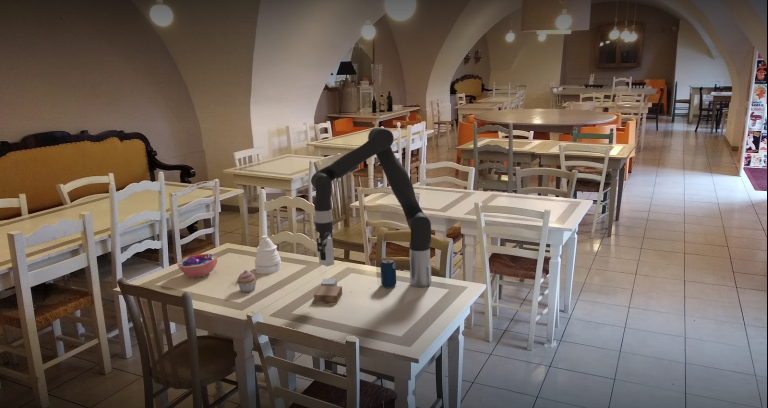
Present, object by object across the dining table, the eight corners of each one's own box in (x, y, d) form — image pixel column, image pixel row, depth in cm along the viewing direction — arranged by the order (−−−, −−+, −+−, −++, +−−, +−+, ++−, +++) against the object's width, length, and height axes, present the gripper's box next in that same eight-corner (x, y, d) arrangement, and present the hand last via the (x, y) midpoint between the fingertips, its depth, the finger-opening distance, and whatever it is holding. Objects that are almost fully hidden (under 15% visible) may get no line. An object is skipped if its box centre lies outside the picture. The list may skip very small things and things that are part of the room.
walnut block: (342, 294, 248) (341, 286, 247) (337, 304, 238) (336, 295, 237) (320, 294, 249) (320, 285, 248) (314, 303, 240) (313, 294, 239)
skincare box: (334, 264, 239) (333, 237, 236) (326, 267, 236) (324, 240, 233) (326, 261, 243) (325, 234, 240) (318, 263, 241) (316, 236, 238)
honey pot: (278, 273, 275) (275, 238, 271) (252, 274, 275) (249, 239, 271) (283, 264, 288) (280, 230, 283) (258, 265, 288) (255, 231, 283)
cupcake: (233, 291, 255) (231, 270, 253) (250, 284, 262) (248, 264, 259) (244, 296, 249) (242, 275, 247) (262, 289, 256) (260, 269, 253)
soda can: (399, 284, 255) (398, 260, 252) (389, 289, 251) (388, 264, 248) (388, 281, 260) (387, 257, 257) (378, 285, 255) (377, 261, 252)
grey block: (337, 286, 256) (336, 278, 255) (334, 292, 251) (334, 283, 250) (324, 286, 257) (323, 278, 256) (321, 291, 251) (321, 283, 250)
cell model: (226, 271, 280) (224, 250, 277) (194, 285, 264) (191, 262, 261) (204, 266, 289) (201, 245, 286) (171, 279, 273) (168, 257, 270)
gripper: (326, 224, 227) (329, 263, 231) (337, 215, 241) (339, 251, 245) (309, 224, 229) (312, 262, 233) (320, 215, 242) (323, 251, 247)
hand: (326, 256), depth 239 cm, fingers closed on skincare box, 7 cm apart
